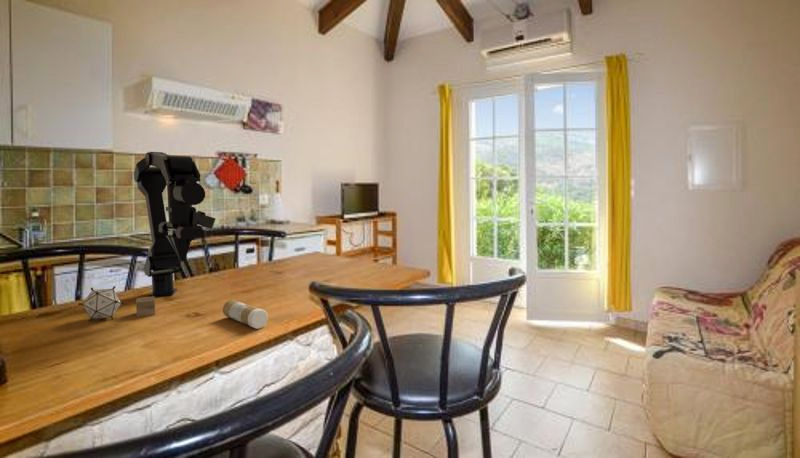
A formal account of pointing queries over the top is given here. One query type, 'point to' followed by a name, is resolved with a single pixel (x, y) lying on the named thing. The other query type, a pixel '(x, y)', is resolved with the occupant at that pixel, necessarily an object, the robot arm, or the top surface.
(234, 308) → the sprinkles bottle
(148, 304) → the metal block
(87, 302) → the game die
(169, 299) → the top surface
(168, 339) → the top surface
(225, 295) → the top surface
